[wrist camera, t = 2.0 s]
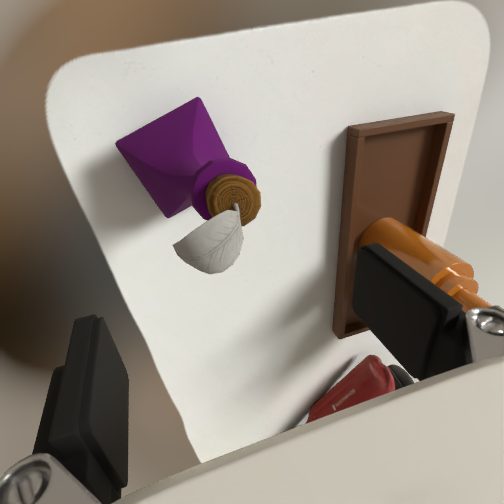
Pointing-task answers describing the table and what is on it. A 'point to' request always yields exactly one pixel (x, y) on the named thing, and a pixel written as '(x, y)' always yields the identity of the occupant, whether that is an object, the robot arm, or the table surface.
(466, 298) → the amber bottle
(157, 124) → the perfume bottle
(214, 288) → the table surface
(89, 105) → the table surface
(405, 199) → the tray
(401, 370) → the hair straightener
